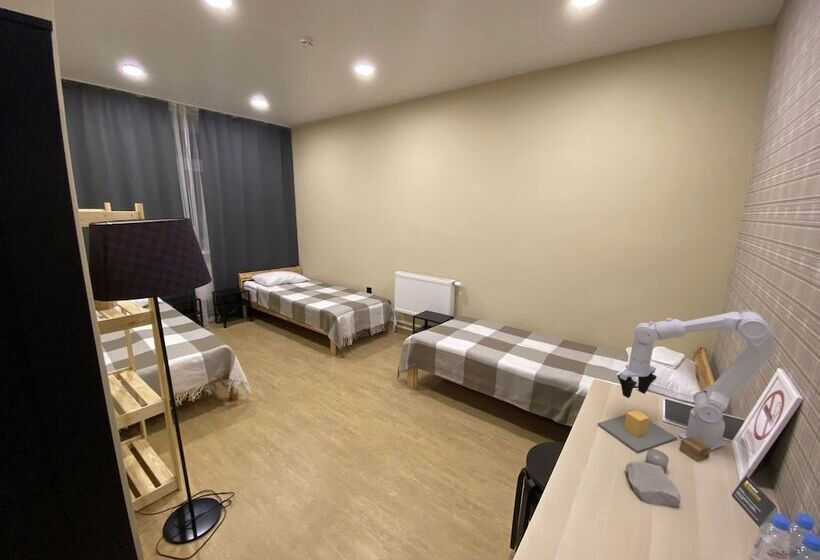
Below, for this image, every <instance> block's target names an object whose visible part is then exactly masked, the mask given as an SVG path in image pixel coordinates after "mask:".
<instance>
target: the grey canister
mask: <svg viewBox="0 0 820 560" xmlns="http://www.w3.org/2000/svg"><path fill="white" fill-rule="evenodd" d="M646 451H647V452H646V455H645V460H644V463H650V464H654V465H658V466H661V467H662V468H663V471H664V473H665V474H666V473H667V469H668V464H669V460H670V459H669V456H668V455H667V454H666V453H664V452H662V451H661V450H659V449H655V448H651V449H648V450H646Z"/></svg>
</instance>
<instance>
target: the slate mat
mask: <svg viewBox="0 0 820 560" xmlns="http://www.w3.org/2000/svg"><path fill="white" fill-rule="evenodd" d="M625 418H626V414H624V415H621V416H618V417H617V416H616V417H615V418H611V419H607V420H603V421H600V422H597V426H598V427H599V428H601V429H602V430H603V431H605V432H606V433H608V434H609V435H610V436H612V437H614V438H615V439H617V440H618V441H620V443H622V444H623V445H624V446H626V447H628V448H629V449H630V450H631V451H633V452H634V453H636V454H640V453H643V452H645V451H647V450H649V449H655V448H657V447H659V446H662V445H665V444H668V443H671V442H674V441H676V440H678V437H677V436H675V435H674V434H672V433H671V432H669V431H667V430H666V429H664V428H662V427H660V426H659V425H658V424H656V423H654V422H652V421H651V420H649V424H648V429H647V434H645V435H642V436H639V437H636V436H634V435H633V434H631V433H630V432H628V431H627V430H625V429H624V424H625Z"/></svg>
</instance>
